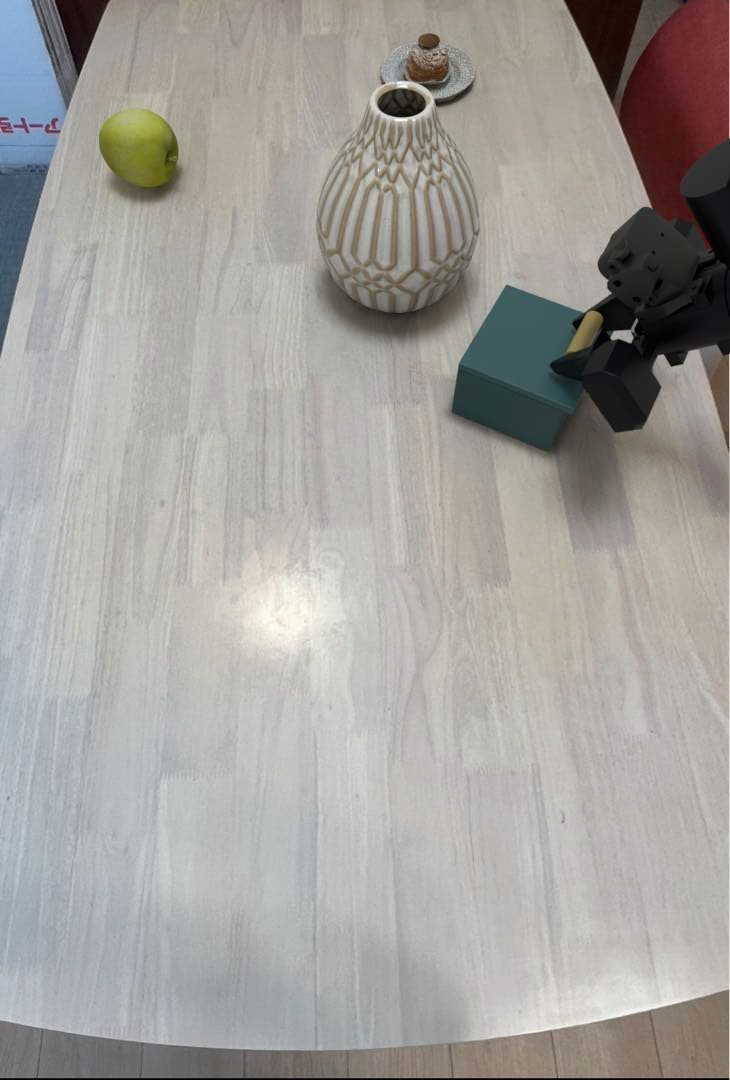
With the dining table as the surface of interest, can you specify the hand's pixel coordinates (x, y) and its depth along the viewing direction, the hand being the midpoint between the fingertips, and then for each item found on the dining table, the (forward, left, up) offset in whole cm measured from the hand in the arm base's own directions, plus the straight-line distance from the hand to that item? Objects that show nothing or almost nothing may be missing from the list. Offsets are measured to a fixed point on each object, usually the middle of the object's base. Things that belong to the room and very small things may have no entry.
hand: (563, 346), depth 66 cm
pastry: (-27, -44, -8) cm, 53 cm away
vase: (0, -21, -8) cm, 23 cm away
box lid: (+1, -2, -2) cm, 3 cm away
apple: (+10, -52, -8) cm, 54 cm away
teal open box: (+1, -2, -8) cm, 8 cm away
